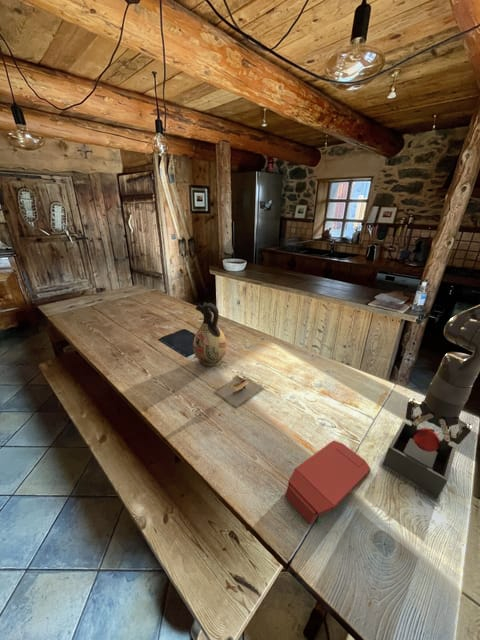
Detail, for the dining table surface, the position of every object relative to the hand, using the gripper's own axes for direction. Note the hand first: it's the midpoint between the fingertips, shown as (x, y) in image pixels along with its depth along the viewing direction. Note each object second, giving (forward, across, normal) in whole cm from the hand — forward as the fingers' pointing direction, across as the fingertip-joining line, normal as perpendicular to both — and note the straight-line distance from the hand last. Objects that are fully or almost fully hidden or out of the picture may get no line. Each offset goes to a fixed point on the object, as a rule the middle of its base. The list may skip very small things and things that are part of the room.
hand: (426, 440), depth 73 cm
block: (+10, 0, 0) cm, 10 cm away
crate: (+11, 0, 0) cm, 11 cm away
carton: (+11, +16, +22) cm, 29 cm away
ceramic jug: (+11, +82, +8) cm, 83 cm away
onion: (+4, 0, 0) cm, 4 cm away
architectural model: (+11, +59, +13) cm, 61 cm away
